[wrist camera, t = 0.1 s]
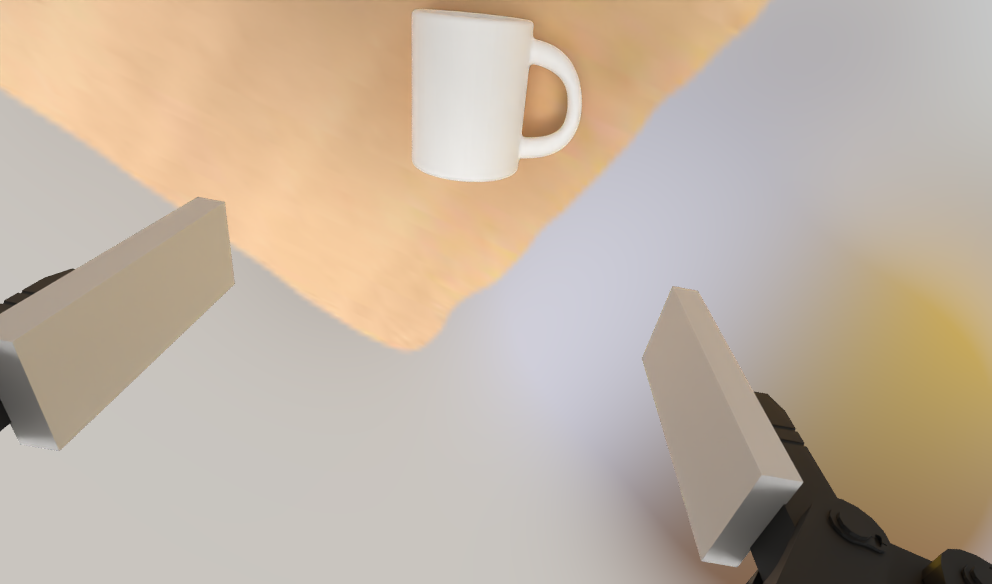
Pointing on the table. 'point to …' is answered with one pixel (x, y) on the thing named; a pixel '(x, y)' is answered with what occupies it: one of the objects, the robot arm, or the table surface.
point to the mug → (480, 94)
